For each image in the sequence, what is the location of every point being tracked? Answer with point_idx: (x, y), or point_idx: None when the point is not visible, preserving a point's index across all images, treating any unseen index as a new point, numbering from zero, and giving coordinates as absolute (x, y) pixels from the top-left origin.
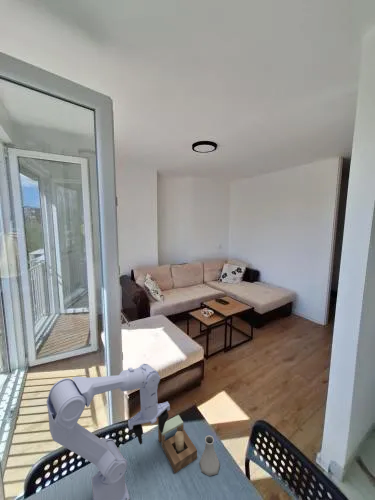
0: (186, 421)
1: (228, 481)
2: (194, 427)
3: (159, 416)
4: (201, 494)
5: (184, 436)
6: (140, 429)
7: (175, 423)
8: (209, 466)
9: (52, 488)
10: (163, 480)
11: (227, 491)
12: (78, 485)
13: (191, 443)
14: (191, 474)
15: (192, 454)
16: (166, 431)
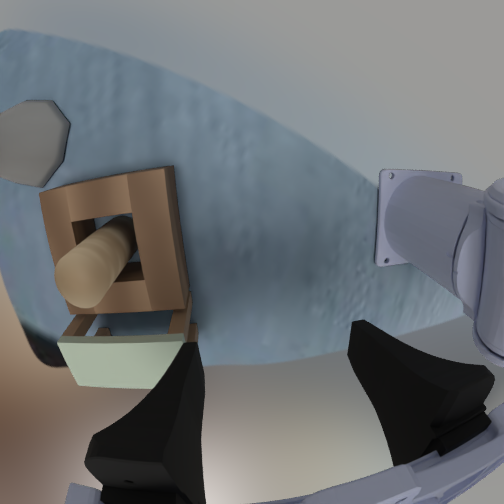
0: None
1: (16, 70)
2: (44, 310)
3: (193, 463)
4: (110, 53)
5: None
6: (455, 403)
7: (97, 357)
8: (29, 108)
9: None
10: (233, 162)
11: (35, 43)
12: None
13: (52, 235)
14: (108, 132)
15: (65, 186)
16: (154, 343)
